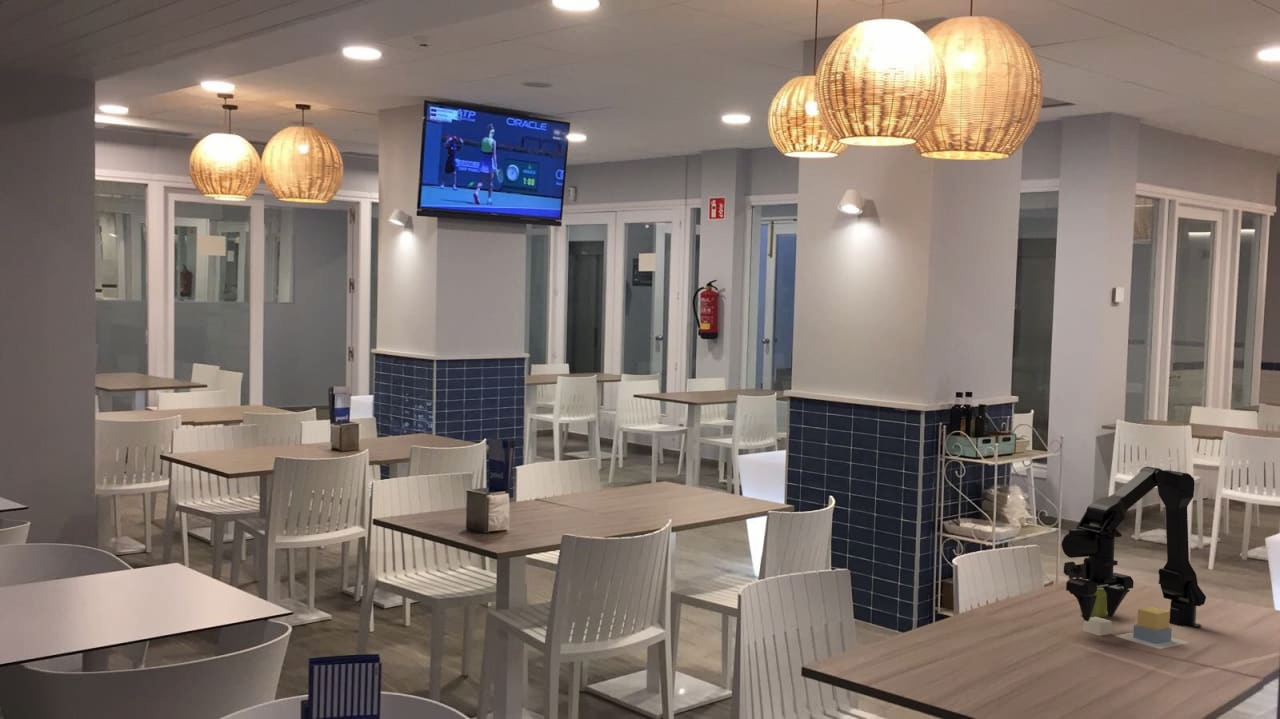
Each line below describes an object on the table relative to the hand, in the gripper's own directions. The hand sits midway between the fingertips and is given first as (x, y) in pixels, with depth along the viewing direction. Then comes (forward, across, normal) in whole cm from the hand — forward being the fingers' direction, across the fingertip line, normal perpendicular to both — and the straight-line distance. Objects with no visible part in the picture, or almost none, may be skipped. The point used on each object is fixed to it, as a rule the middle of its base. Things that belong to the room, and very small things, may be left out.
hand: (1098, 618), depth 278 cm
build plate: (+4, -7, +10) cm, 13 cm away
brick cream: (+4, 0, 0) cm, 4 cm away
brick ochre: (0, -7, +10) cm, 12 cm away
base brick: (+3, -7, +10) cm, 13 cm away
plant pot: (+4, -15, -12) cm, 20 cm away
